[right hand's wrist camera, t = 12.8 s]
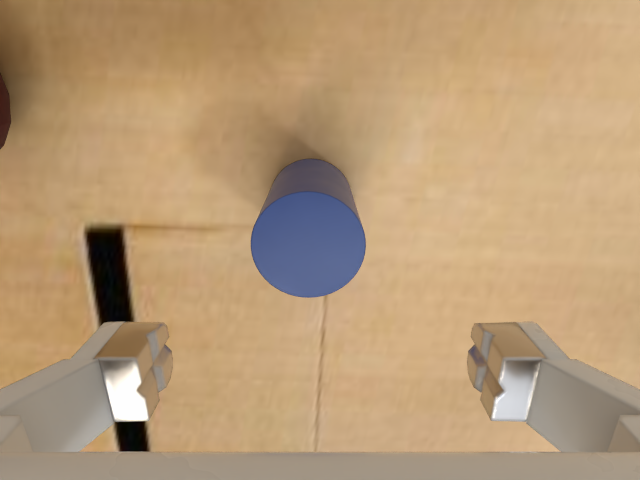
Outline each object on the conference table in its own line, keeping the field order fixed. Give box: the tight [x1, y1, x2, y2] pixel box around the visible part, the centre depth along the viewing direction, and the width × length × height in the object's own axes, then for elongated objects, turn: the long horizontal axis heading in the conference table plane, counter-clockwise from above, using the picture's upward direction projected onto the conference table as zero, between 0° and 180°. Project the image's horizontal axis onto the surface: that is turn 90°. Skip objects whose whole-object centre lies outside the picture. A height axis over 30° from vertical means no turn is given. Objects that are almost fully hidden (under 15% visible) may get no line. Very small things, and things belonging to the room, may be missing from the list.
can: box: [251, 159, 366, 297], centre depth 20 cm, size 5×5×8 cm
